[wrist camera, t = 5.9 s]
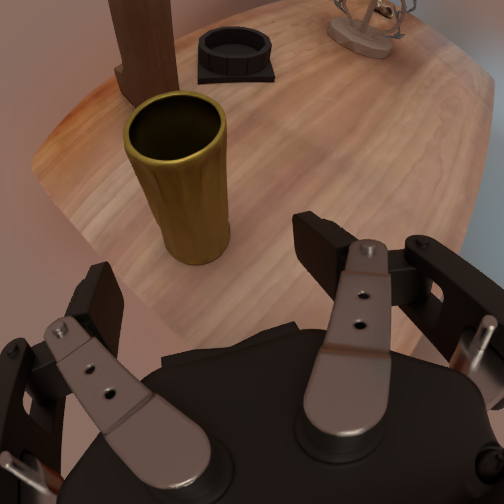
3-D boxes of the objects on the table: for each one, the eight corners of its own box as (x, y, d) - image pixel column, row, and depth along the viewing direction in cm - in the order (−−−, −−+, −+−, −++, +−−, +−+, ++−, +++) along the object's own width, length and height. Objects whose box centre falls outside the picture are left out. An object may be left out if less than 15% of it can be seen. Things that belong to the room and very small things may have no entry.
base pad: (198, 84, 33) (196, 60, 29) (198, 47, 36) (197, 27, 32) (274, 82, 34) (278, 59, 30) (263, 46, 37) (266, 26, 33)
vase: (175, 197, 27) (144, 81, 14) (237, 211, 27) (248, 93, 14) (155, 256, 25) (93, 163, 12) (221, 272, 25) (215, 185, 12)
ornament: (361, 2, 51) (364, -7, 47) (381, 7, 52) (385, -2, 48) (376, 15, 49) (380, 5, 45) (396, 20, 50) (400, 11, 46)
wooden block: (120, 92, 32) (90, -21, 15) (148, 76, 33) (129, -35, 16) (151, 124, 30) (120, -14, 13) (182, 106, 31) (170, -29, 14)
